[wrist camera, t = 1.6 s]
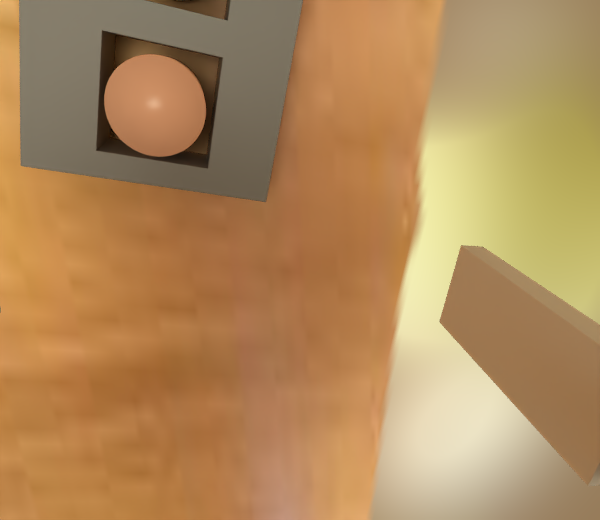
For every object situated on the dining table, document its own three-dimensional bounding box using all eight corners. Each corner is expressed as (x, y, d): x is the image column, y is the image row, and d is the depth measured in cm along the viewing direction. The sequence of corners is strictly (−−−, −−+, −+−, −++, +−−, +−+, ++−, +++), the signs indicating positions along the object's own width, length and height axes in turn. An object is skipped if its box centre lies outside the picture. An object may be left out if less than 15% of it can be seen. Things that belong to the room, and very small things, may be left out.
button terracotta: (115, 135, 25) (101, 147, 21) (120, 46, 23) (106, 43, 20) (199, 149, 26) (199, 163, 22) (209, 65, 24) (211, 66, 21)
